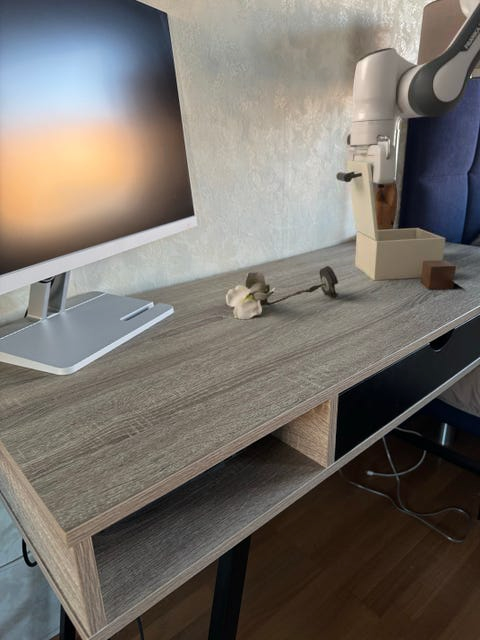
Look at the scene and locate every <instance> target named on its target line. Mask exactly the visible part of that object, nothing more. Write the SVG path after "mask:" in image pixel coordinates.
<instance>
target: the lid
mask: <svg viewBox="0 0 480 640" xmlns="http://www.w3.org/2000/svg"><path fill="white" fill-rule="evenodd" d="M346 164H347V171H348V172H342V171H339V172H337V173H336V177H335V178H336V179H337V180H338V181H340V182H345V183H349V188H350V196H351V205H352V213H353V221H354V228H355V231H356V232H357V231H359V232H361V233H363V234H365V235H367V236H368V237H370V238H372V239H374V240H378V239H379V238H378V228H377V219H376V210H375V200H374V191H373V181H372V172H371V163H370V162H360V161H348V160H347V161H346Z"/></svg>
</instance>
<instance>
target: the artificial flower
mask: <svg viewBox="0 0 480 640" xmlns="http://www.w3.org/2000/svg"><path fill="white" fill-rule="evenodd" d="M318 274H319V278H320V282H321V284H317V285H312V286H310V287H309V288H307V289H302V290H298V291H296V292H295V293H292V294H288V295H286V296H283V297H282V298H280V299H278V300H277V299H276V300H275V301H272V302H271V301H270V302H268V299H269V298H270V297H271V295H273V294H274V291H275V290H276V287H273V288H272V289H271V288H270V284H269V283H268V284H267V283H266V279H265V275H264V273H263V272H261V271H255V272H248V273H247V274H246V276H245V277H246V278H245V280H244V284H237V285H236V287H235V288H230V289H228V292H227V294H226V295H225V301H226V305H227V306H229V307H231V308H232V307H234V309H233V311H232V312H233V315H234V318H235V319H239V320H249V319H252V318H253V317H256V316H260V315H262V312H263V307H264V306H271V305H275V304H276V303H280V302H282V301H285V300H287V299H289V298H291V297H293V296H294V297H295V296H297V295H300V294H302V293H312V292H315V291H316V290H319V288H321V291H322V293H323V294H324V295H325V296H328V297H329V298H331V299H336V298H338V297H339V293H340V292H339V291H338V292H337V291H336V286H335V285H338V284H339V279H338V278H337V275H336V273H335V271H334V269H333V268H332V267H330V266H329V265H326V266H324V267H323V268H321V269H319V272H318Z"/></svg>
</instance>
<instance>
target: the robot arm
mask: <svg viewBox="0 0 480 640" xmlns="http://www.w3.org/2000/svg"><path fill="white" fill-rule="evenodd" d="M459 6H460V9H461V12H462V14H463V15H464V16H465V17H466V19H465V21H464V22H463V24H462V25H461V27H460V28H459V29H458V31H457V33H456V34H455V36H454V37H453V39H452V41H451V42H450V43H449V44H448V46H447V48H446V49H445V50H444V51H443V52H442V53H440V54H439V55H438V56H436V57H435V58H433V59H431V60H429V61H427V62H425V63H423V64H419V65H418V64H415V63H413V62H411V61H409V60H407V59H406V58H404V57H403V56H402V55H400V54H399V53H398V51H397V50H396V48H394V47H386V48H380V49H378V50H374V51H371V52H368V53H366V54H364V55H363V56H362V57H361V58H360V59H359V60H358V61H357V63H356V67H355V72H354V78H353V89H352V104H353V115H352V119H351V129H350V132H349V133H348V134H347V135H346V138H345V140H346V141H345V145H346V147H348V149H347V161H360V162H370V163H371V172H372V181H373V191H374V200H375V193H376V191H377V188H378V184H386V183H393V181H394V179H395V180H396V171H397V170H396V169H397V153H396V152H397V151H396V147H395V145H394V134H395V121H396V117H400V118H403V119H413V118H422V117H428V118H429V117H430V118H439V117H442V116H445V115H447V114H450V113H451V112H452V111H453V110H454V109H455V108H456V107H457V106H458V105H459V104H460V103H461V101H462V100H463V97H464V96H465V93H466V91H467V88H468V85H469V82H470V79H471V77H472V74H473V72H474V70H475V68H476V67H477V65H478V63H479V62H480V0H459Z"/></svg>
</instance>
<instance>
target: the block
mask: <svg viewBox="0 0 480 640" xmlns="http://www.w3.org/2000/svg"><path fill="white" fill-rule="evenodd" d="M396 181H397V180H396V178H395V179H394V181H393V183H386V184H378V188H377V191H376V193H375V210H376V219H377V228H378V230H390V229H394V224H395V222H396V215H397V209H398V188H397V187H398V186H397V182H396Z"/></svg>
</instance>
